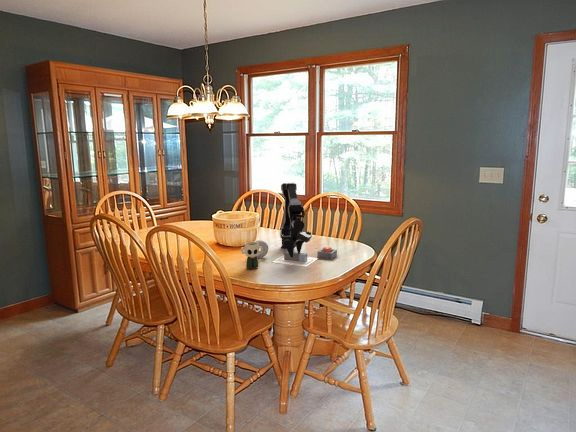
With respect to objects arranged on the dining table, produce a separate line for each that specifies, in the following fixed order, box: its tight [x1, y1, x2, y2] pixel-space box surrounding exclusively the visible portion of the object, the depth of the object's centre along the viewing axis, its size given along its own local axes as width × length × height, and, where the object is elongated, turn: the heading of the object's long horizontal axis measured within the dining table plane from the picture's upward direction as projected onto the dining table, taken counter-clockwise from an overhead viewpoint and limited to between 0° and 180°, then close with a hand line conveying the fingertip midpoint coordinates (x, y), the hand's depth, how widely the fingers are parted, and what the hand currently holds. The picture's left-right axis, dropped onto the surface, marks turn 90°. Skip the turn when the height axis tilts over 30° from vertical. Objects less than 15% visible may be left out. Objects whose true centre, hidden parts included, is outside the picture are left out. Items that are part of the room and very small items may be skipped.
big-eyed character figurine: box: [240, 241, 263, 270], centre depth 216 cm, size 11×7×13 cm, turn 101°
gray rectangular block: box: [283, 250, 308, 262], centre depth 230 cm, size 12×4×4 cm, turn 64°
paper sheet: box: [272, 254, 320, 268], centre depth 230 cm, size 20×17×1 cm
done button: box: [322, 246, 333, 253], centre depth 236 cm, size 5×5×4 cm
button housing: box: [316, 247, 338, 260], centre depth 237 cm, size 8×8×4 cm
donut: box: [254, 239, 269, 259], centre depth 234 cm, size 10×3×10 cm, turn 99°
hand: (295, 255), depth 230 cm, fingers open, 9 cm apart
